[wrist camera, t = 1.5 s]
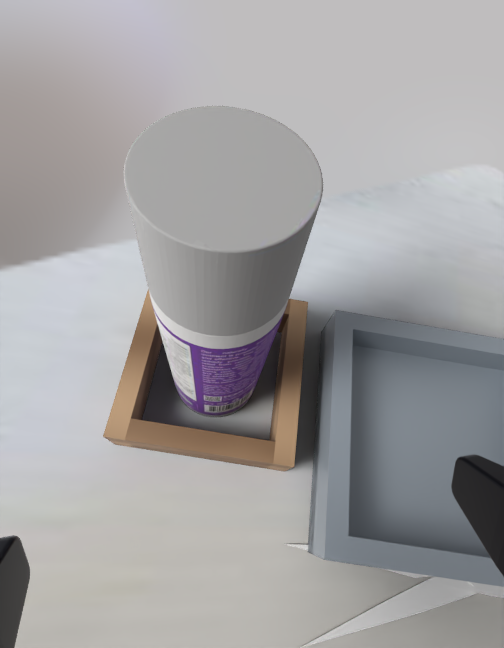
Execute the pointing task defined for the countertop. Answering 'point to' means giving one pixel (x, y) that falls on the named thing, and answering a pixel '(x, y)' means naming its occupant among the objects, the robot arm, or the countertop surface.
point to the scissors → (410, 601)
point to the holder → (201, 443)
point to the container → (220, 242)
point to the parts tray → (402, 444)
